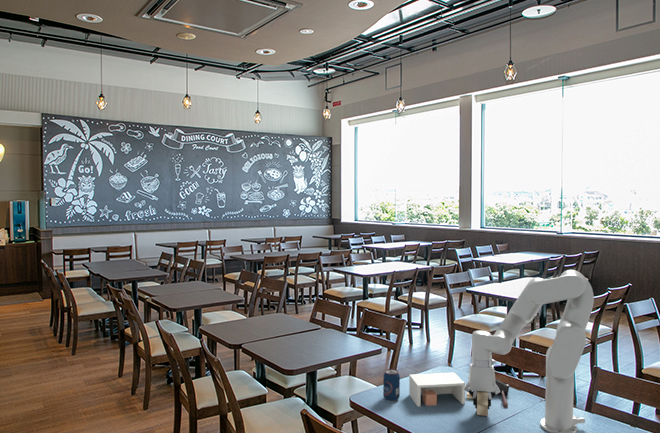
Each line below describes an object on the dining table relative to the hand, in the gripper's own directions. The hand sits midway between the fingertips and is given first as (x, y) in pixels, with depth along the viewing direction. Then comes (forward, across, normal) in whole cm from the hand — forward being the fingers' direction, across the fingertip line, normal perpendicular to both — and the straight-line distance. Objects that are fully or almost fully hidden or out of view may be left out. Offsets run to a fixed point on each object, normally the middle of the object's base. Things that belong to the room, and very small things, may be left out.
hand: (482, 406), depth 193 cm
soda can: (+2, +37, -6) cm, 37 cm away
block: (+2, +21, -6) cm, 22 cm away
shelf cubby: (+2, +18, -10) cm, 21 cm away
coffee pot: (+3, -8, -17) cm, 19 cm away
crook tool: (+2, +2, -6) cm, 7 cm away
